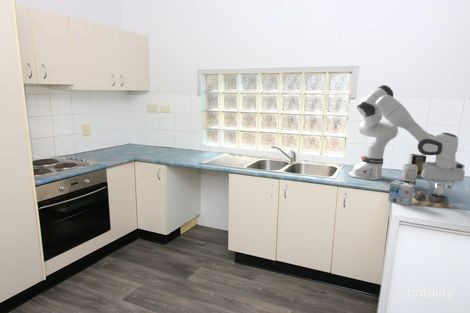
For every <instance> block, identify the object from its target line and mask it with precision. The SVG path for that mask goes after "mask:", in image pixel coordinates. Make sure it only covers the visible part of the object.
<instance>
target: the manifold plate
mask: <svg viewBox="0 0 470 313" xmlns="http://www.w3.org/2000/svg"><path fill="white" fill-rule="evenodd" d="M433 195H434V192H433V193H431V192H427V195H426V194H425V193H424V191H421V190H418V192H414V193H413V199H412V204H414V205H415V206H420V205H421V206H422V207H423V206H424V207H431V206H433V208H443V209H452V208H453V205H452V204H451V203H449V201H450V199H449V198H448V197H447V196H446V195H444V194H443V198H439V197H434V196H433Z"/></svg>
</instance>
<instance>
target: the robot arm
mask: <svg viewBox="0 0 470 313" xmlns="http://www.w3.org/2000/svg"><path fill="white" fill-rule="evenodd" d="M356 106H357V107H356V108H357V111H358V113H359V114H360V115H361V116H363V119H364V120H362V122H360V124H359V127H358V131H359V133H360V134H361V135H363V136H366V137H371V138H375V141H373V142H370V143H369V144H367V146H366V152H365V155H361V156H360V158H361V161H360V162H358V163H356V164H354V165H353V166H352V170H350V171H348V175H349V176H350V177H352V178H356V179H363V180H369V181H370V180H372V181H377V180H382V179H383V164H384V153H385V148H386V146H387V144H388V143H389V142H391V141H392V140H394V139H395V138H396V137H397V136H398V134H399V128H400V129H403V130H405V131H407V132H408V133H409V134H410V135H411V136H413V138H414V139H415V140H417V142H418V144H417V150H418V152H419V153H420V154H421V155H424V156H435V161H433V162H430V161H427V162H425V163H424V164H423V170H422V173H421V177H422V178H421V179H425V180H427V182H428V187H429V188H433V187H434V184H433V183H432V180H434V181H435V180H437V181H447V182H448V181H449V182H450V183H449V184H447V186H446V188H447V189H450V190H452V188H453V186H454V185H455V184H456V182H460V183H461V182H463V181H464V180H465V172H466V171H465V164H462V163H460V162H458V161H457V160H456V154H457V152H458V148H459V137H458V136H457V135H455V134H453V133H449V132H441V133H440V134H437V135H433V134H430V133H429V132H427V131H426V130H424V129H423V128H422V127H421V126H420V125H419V123H417V122H416V121H415V119H414V118H413V117H412V115H411V114H410V112H409V111H408V110H407V108H406V107H405V106H404V105H403V104H402V103H401V102H399V100H397V99H396V98H394V91H393V89H392V88H391V87H389V86H388V85H385V84H383V85H380V86H378V87H377V88H376V89H374V90H373V91H371V92H370V93H369V94H368V95H367V94H366V95H364V96H363V97H361V99H360V101H359V103H358V104H357V105H356ZM383 117H384V118H385V119H386V120H387V121H386V122H385V121H382V119H383Z"/></svg>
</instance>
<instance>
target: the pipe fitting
mask: <svg viewBox="0 0 470 313" xmlns="http://www.w3.org/2000/svg"><path fill="white" fill-rule="evenodd" d="M445 187H446V184H445V183H443V182H435V185H434V190H433V193H434V195H433V196H434V197H439V198H443V195H444V192H445Z"/></svg>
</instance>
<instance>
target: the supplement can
mask: <svg viewBox="0 0 470 313" xmlns="http://www.w3.org/2000/svg"><path fill="white" fill-rule="evenodd" d="M417 172H418V167H417V165H414V164H408V163H405V164H404V165H403V168H402V173H401V179H400V182H404V183H409V184H413V185H415V186H416V183H417V179H418V178H417Z"/></svg>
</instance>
